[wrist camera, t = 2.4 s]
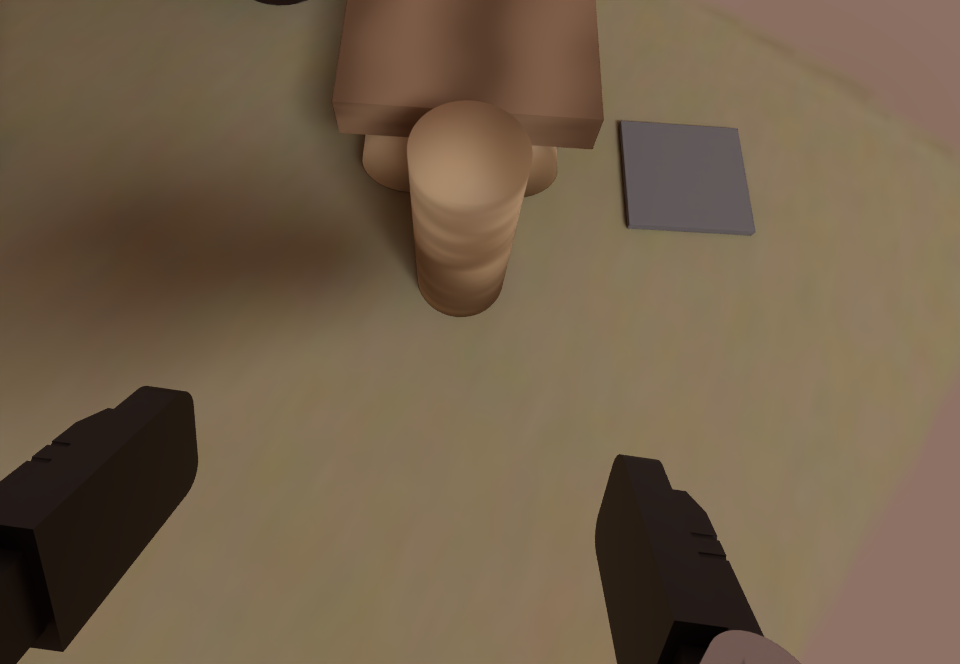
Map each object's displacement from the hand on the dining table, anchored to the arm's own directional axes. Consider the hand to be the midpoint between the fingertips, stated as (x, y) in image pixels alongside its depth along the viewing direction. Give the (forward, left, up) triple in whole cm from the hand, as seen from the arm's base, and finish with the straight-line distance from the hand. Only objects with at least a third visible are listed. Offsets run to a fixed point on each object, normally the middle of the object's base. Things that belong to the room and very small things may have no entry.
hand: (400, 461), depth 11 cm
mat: (+14, +18, -15) cm, 27 cm away
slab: (+1, +21, -15) cm, 26 cm away
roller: (+1, +11, -15) cm, 19 cm away
